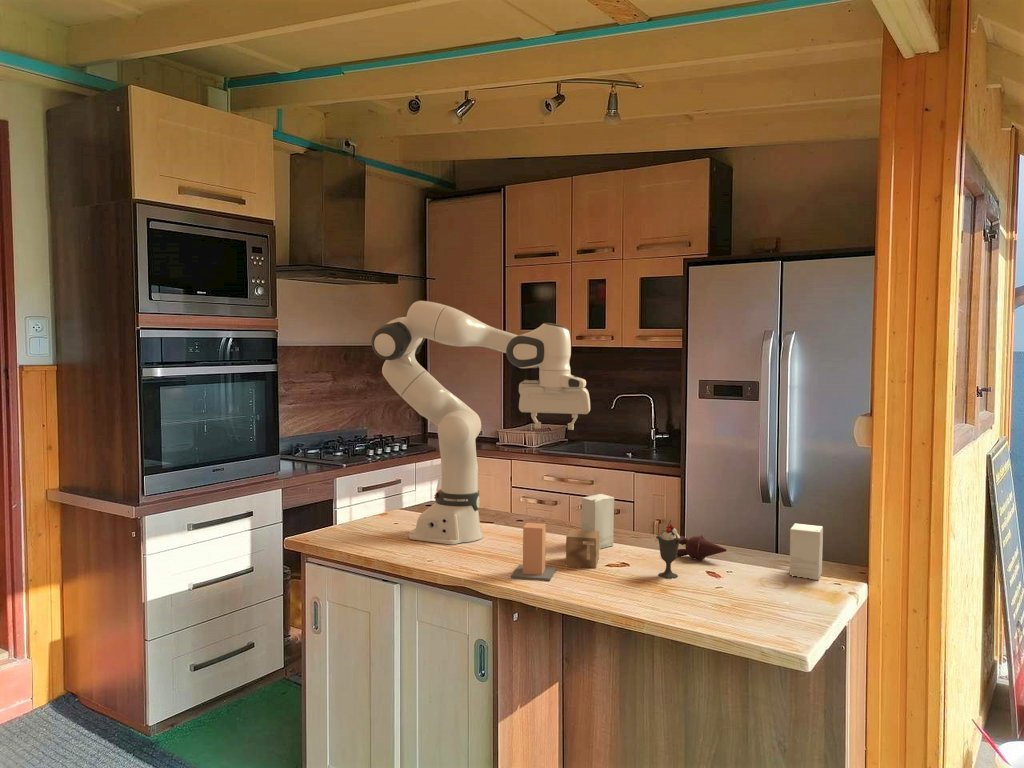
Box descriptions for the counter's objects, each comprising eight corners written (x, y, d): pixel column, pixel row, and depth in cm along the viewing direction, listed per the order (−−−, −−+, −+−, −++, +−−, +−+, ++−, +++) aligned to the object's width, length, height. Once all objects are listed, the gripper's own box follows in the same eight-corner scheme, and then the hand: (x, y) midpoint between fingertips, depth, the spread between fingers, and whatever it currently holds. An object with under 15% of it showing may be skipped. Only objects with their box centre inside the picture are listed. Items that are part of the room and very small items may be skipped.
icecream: (731, 537, 218) (680, 534, 227) (722, 536, 212) (670, 532, 221) (730, 563, 217) (679, 558, 225) (721, 562, 211) (669, 558, 219)
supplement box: (822, 573, 207) (824, 526, 207) (818, 580, 201) (820, 531, 200) (793, 569, 211) (794, 522, 210) (788, 576, 204) (789, 528, 204)
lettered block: (565, 566, 211) (566, 536, 211) (570, 557, 219) (570, 529, 219) (595, 568, 209) (596, 538, 209) (598, 559, 217) (599, 531, 217)
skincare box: (599, 542, 236) (600, 493, 236) (614, 546, 232) (615, 496, 231) (579, 546, 231) (580, 496, 230) (594, 551, 226) (595, 499, 226)
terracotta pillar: (522, 573, 202) (523, 527, 201) (526, 567, 207) (526, 522, 206) (541, 574, 201) (542, 528, 200) (545, 569, 206) (545, 524, 205)
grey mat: (510, 578, 200) (510, 575, 200) (518, 566, 210) (519, 564, 210) (549, 581, 198) (549, 578, 198) (556, 569, 208) (556, 567, 208)
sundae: (666, 581, 199) (667, 522, 198) (650, 573, 205) (651, 516, 204) (686, 577, 202) (688, 519, 201) (670, 570, 208) (671, 514, 207)
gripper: (516, 380, 222) (516, 429, 223) (588, 381, 218) (588, 431, 219) (521, 379, 229) (520, 426, 229) (591, 380, 224) (590, 429, 225)
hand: (554, 429), depth 224 cm, fingers open, 8 cm apart
